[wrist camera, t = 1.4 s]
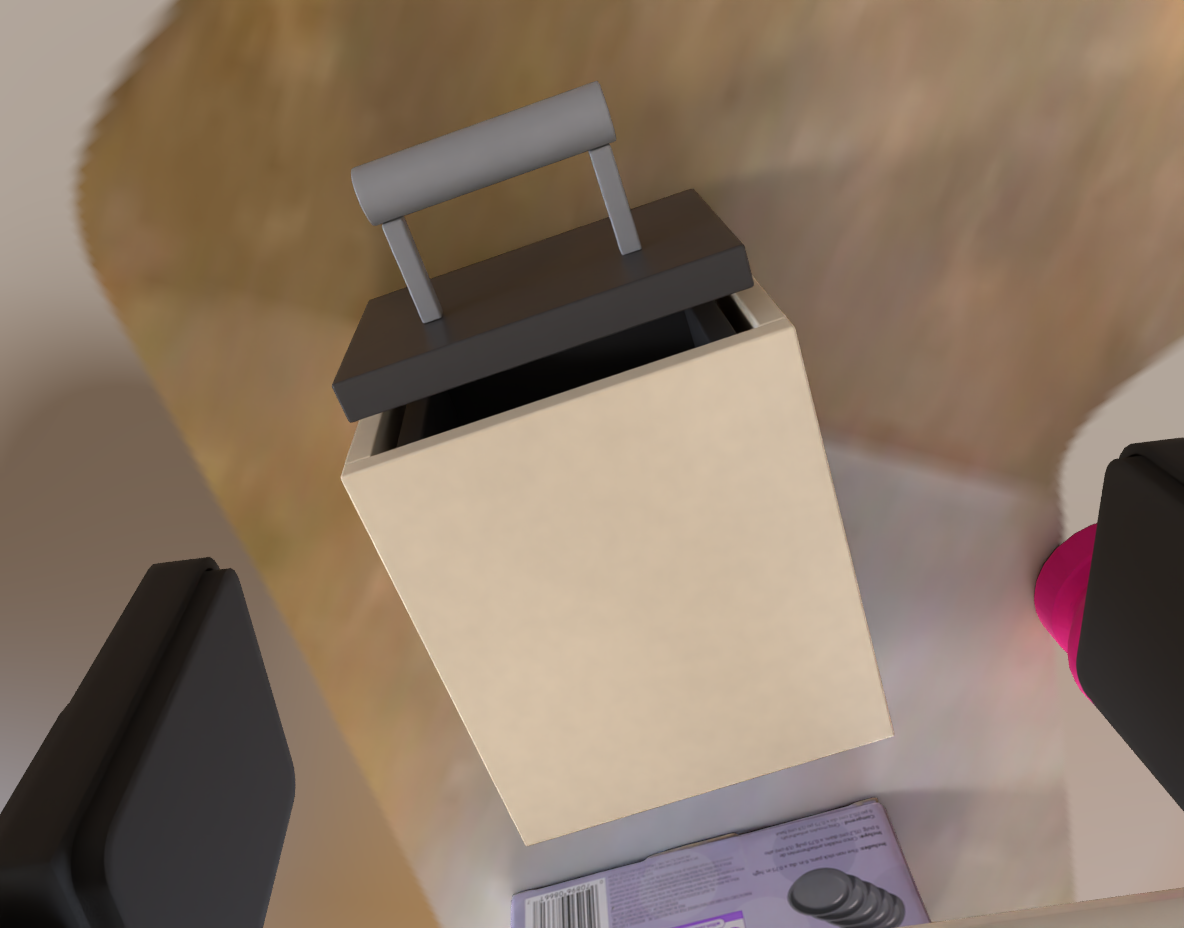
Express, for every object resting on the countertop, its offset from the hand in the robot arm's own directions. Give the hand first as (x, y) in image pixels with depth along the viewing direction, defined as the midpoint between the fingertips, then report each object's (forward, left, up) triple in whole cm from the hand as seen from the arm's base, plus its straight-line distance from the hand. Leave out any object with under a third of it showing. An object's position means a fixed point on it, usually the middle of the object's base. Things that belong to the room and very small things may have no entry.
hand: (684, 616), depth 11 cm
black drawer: (+2, +6, -24) cm, 25 cm away
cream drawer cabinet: (+2, +11, -25) cm, 27 cm away
